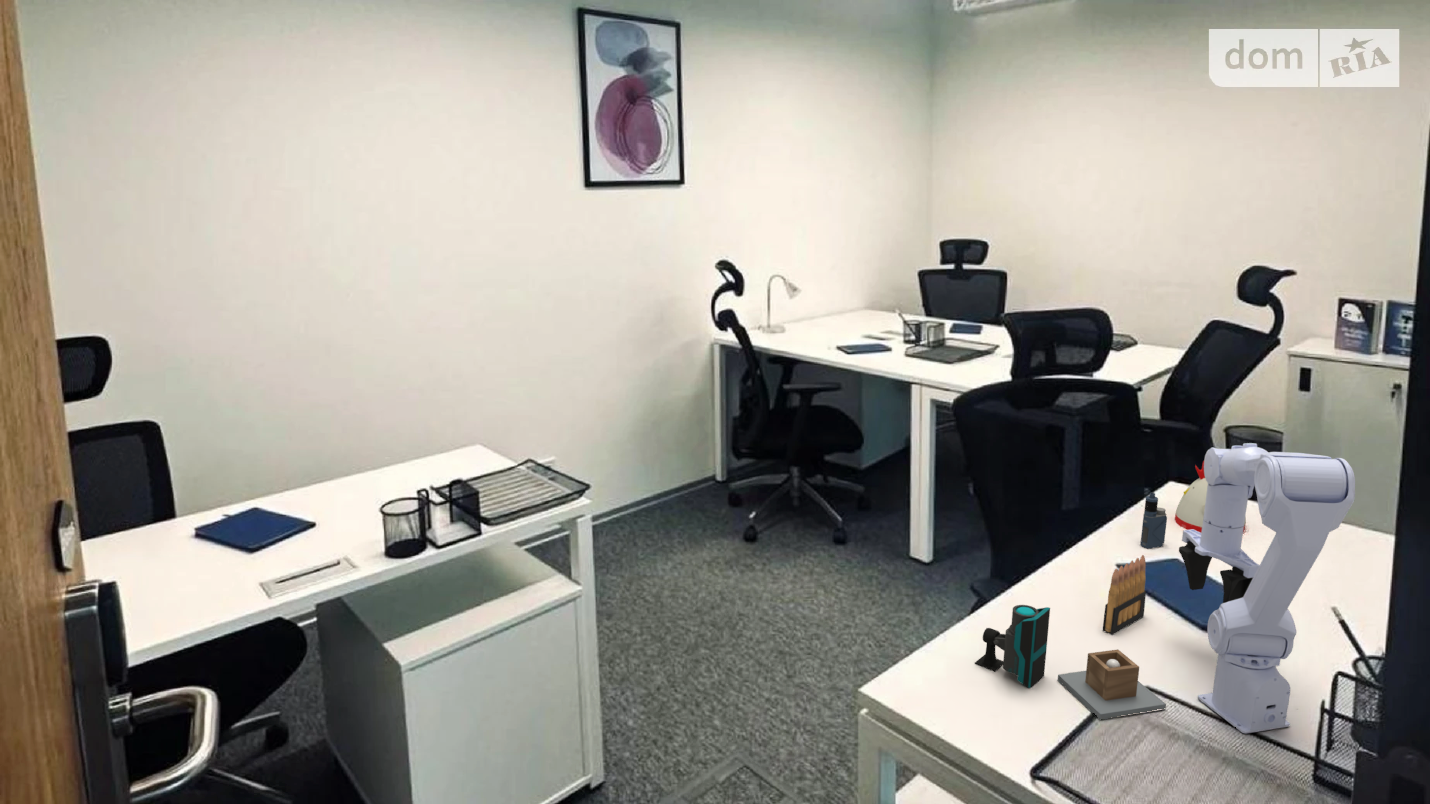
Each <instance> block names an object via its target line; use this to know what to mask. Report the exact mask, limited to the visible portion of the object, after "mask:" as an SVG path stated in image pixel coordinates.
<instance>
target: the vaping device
mask: <svg viewBox="0 0 1430 804" xmlns="http://www.w3.org/2000/svg"><path fill="white" fill-rule="evenodd" d="M1158 502H1159V498H1158V497H1157V496H1156V493H1155V492H1150V493H1149V495H1147V496H1145V504H1144V511H1143V512H1144V513H1143V517H1142V526H1141V535H1140V536H1141V537H1140V544H1139V545H1140V546H1141V547H1142V548H1144V549H1147V550H1148V549H1156V548H1161V547H1163V545H1164V544H1165V541H1166V540H1165V539H1166V531H1167V522H1168V516H1167V513H1166V509H1165V508H1164V507H1158V504H1159V503H1158Z"/></svg>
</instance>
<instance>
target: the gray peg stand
mask: <svg viewBox="0 0 1430 804" xmlns="http://www.w3.org/2000/svg"><path fill="white" fill-rule="evenodd" d="M1106 665H1107V666H1108V667H1109V668H1114V667H1120V664H1119V662H1118V661H1117V660H1115V659H1110V660H1108V661H1107V662H1106ZM1085 679H1086V670H1081V671H1074V672H1068V673H1067V672H1066V673H1061V674H1057V681H1058V683H1059V684H1061V685H1062V686H1063V687H1064V688H1066V690H1067V691H1068V692H1069V693H1071V695H1073V696H1074V697H1075V698H1076V699H1077V700H1078V701H1079V702H1080V703H1081V704H1083V706H1084V707H1085V708H1087V710H1089V711H1090V712H1091V713H1092V714H1093V713H1095V715H1097V717H1098V718H1099V719H1105V720H1109V719H1108V718H1111V717H1117V716H1121V715H1128V714H1133V713H1140V712H1147V711H1152V710H1157V709H1164V708H1166V707H1167V703H1166V702H1165V701H1163V700H1162V699H1161V698H1159V696H1158V695H1156V694H1155V693H1153V692H1152V691H1151V690H1150V689H1148V688H1147V686H1145V685H1144V684H1143V683H1141V682H1140V681H1139V680H1138V684H1137V693H1136V696H1134V697H1127V698H1120V699H1113V700H1106V701H1105V700H1104V699H1103V698H1102V697H1101V696H1100V695H1099V694H1098V693H1097V692H1096V691H1094V690H1093V689H1092V688H1091V687H1090V686H1089V685H1088V684H1087V683H1086V682H1085ZM1095 715H1094V716H1095ZM1097 717H1096V718H1097ZM1098 718H1097V719H1098ZM1117 718H1118V717H1117ZM1099 719H1098V720H1099ZM1111 719H1112V718H1111Z"/></svg>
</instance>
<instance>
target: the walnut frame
mask: <svg viewBox="0 0 1430 804" xmlns="http://www.w3.org/2000/svg"><path fill="white" fill-rule="evenodd" d="M1110 659H1115V660H1117V661H1118V662H1119V664H1120V667H1114V668H1109V667H1108V666H1107V665H1106V662H1107V661H1108V660H1110ZM1085 671H1086V679H1085V682H1086V683H1087V684H1088V685H1089V686H1090V687H1091V688H1092V689H1093V690H1094V691H1096V692H1097V693H1098V694H1099V695H1100V696H1101V697H1102V698H1103V699H1104V700H1105V701H1106V700H1113V699H1120V698H1127V697H1134V696H1136V693H1137V684H1138V681H1139V674H1140V673H1139V672H1140V666H1139V665H1138V664H1137V663H1135V662H1134V661H1133V660H1132V659H1130V658H1129V657H1128V656H1127V655H1125V654H1124V652H1123V651H1121V650H1119V649H1111V650H1105V651H1104V650H1103V651H1096V652H1088V653H1087V659H1086V670H1085Z"/></svg>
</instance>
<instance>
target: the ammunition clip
mask: <svg viewBox="0 0 1430 804" xmlns="http://www.w3.org/2000/svg"><path fill="white" fill-rule="evenodd" d="M1146 564H1147V563H1146V557H1145V555H1143V554H1142V555H1141V557H1140V558H1139V557H1137V558H1136V559H1135V560H1133V559H1132V560H1131V561H1130V562H1129V563H1128V562H1127V563H1125V565H1124V567H1123V565H1121V566H1119V568H1118V569H1117V568H1115V569H1114V571H1113V573H1112V576H1111V581H1110V584H1109V585H1110V586H1109V590H1108V596H1107V603H1106V604H1105V606H1104V615H1103V623H1102V632H1104V633H1107V634H1109V635H1112V636H1113V635H1115V634H1117V633H1119V632H1120V631H1122V630H1123V629H1125V628H1127V627H1129V626H1130V625H1132V624H1134V623H1135V622H1137V621H1139V620H1141V619H1142V618H1144V617H1145V607H1146V606H1145V605H1146V597H1147V596H1146V595H1147V591H1146V589H1145V588H1146V587H1145V586H1146V580H1147V579H1146V567H1147V566H1146Z"/></svg>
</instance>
